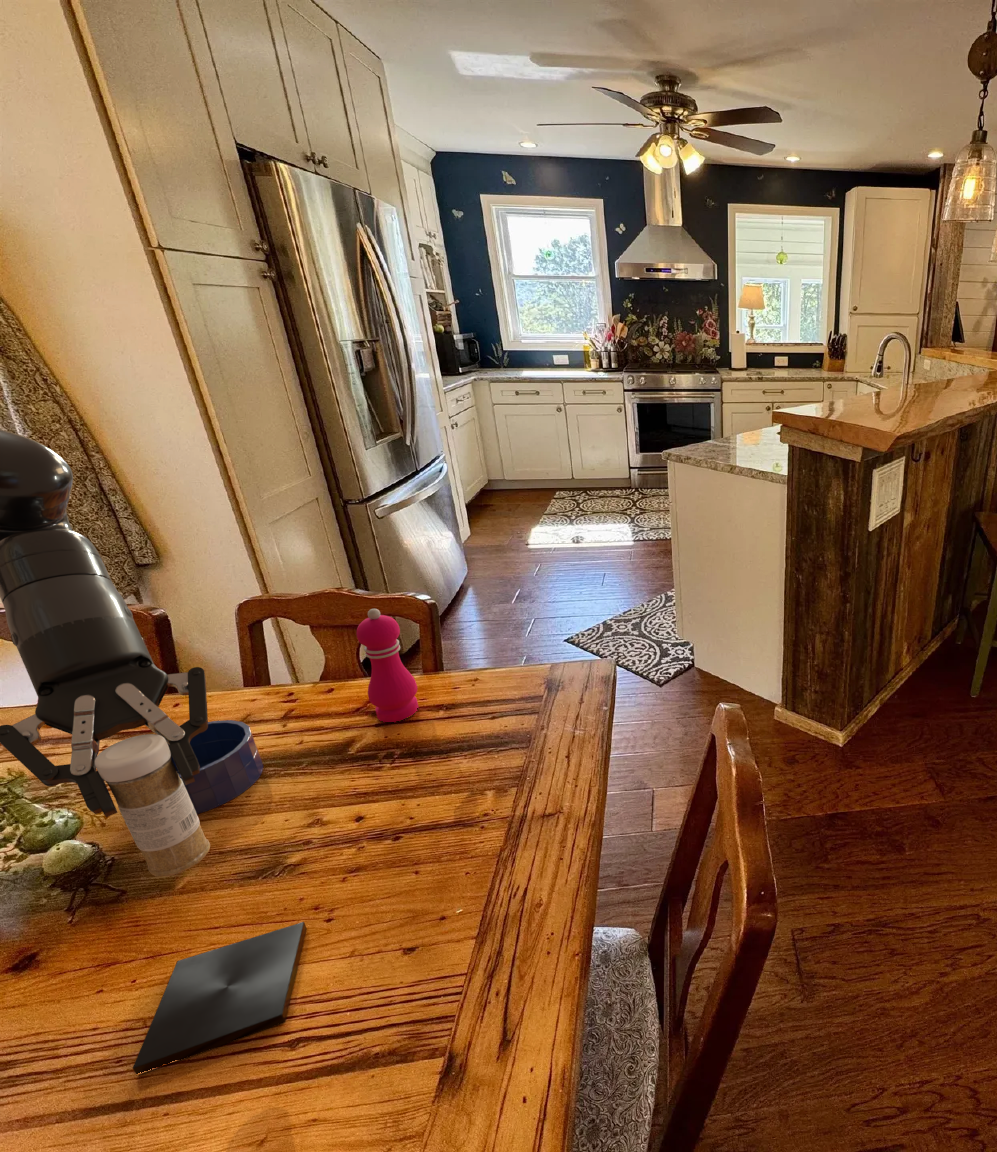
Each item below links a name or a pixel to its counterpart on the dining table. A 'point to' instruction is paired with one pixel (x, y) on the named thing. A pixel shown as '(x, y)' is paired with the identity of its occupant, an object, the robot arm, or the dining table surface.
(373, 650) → the pepper mill
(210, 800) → the bowl
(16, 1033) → the dining table surface
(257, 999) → the plate
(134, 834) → the sprinkles bottle
